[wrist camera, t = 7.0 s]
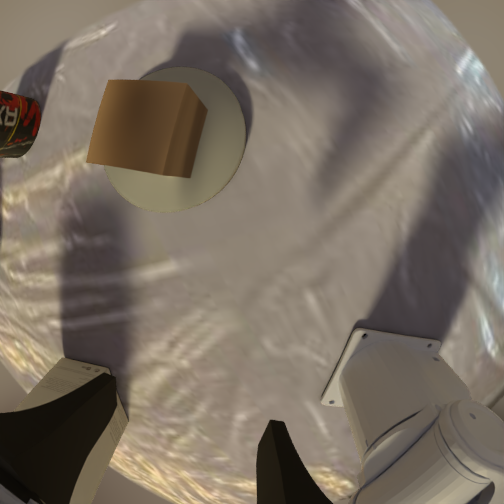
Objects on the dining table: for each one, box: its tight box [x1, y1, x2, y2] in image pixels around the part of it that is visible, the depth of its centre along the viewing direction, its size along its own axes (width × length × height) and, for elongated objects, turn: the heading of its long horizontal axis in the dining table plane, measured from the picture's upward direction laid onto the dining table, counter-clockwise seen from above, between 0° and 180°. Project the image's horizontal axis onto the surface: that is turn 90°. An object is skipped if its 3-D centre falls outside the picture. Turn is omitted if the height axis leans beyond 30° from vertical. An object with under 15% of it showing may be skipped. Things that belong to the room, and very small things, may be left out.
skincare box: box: [13, 358, 129, 504], centre depth 16 cm, size 8×7×16 cm
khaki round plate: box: [104, 67, 246, 213], centre depth 17 cm, size 10×10×2 cm
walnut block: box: [86, 80, 208, 178], centre depth 14 cm, size 4×4×5 cm
